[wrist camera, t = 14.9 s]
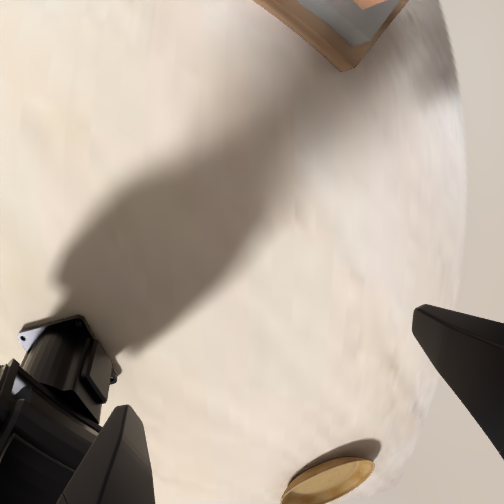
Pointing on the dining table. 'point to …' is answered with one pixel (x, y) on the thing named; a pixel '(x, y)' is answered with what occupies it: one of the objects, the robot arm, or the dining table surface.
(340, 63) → the tower base slab
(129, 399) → the dining table surface
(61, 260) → the dining table surface
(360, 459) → the plant saucer
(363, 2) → the terracotta block
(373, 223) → the dining table surface
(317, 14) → the tower top slab
